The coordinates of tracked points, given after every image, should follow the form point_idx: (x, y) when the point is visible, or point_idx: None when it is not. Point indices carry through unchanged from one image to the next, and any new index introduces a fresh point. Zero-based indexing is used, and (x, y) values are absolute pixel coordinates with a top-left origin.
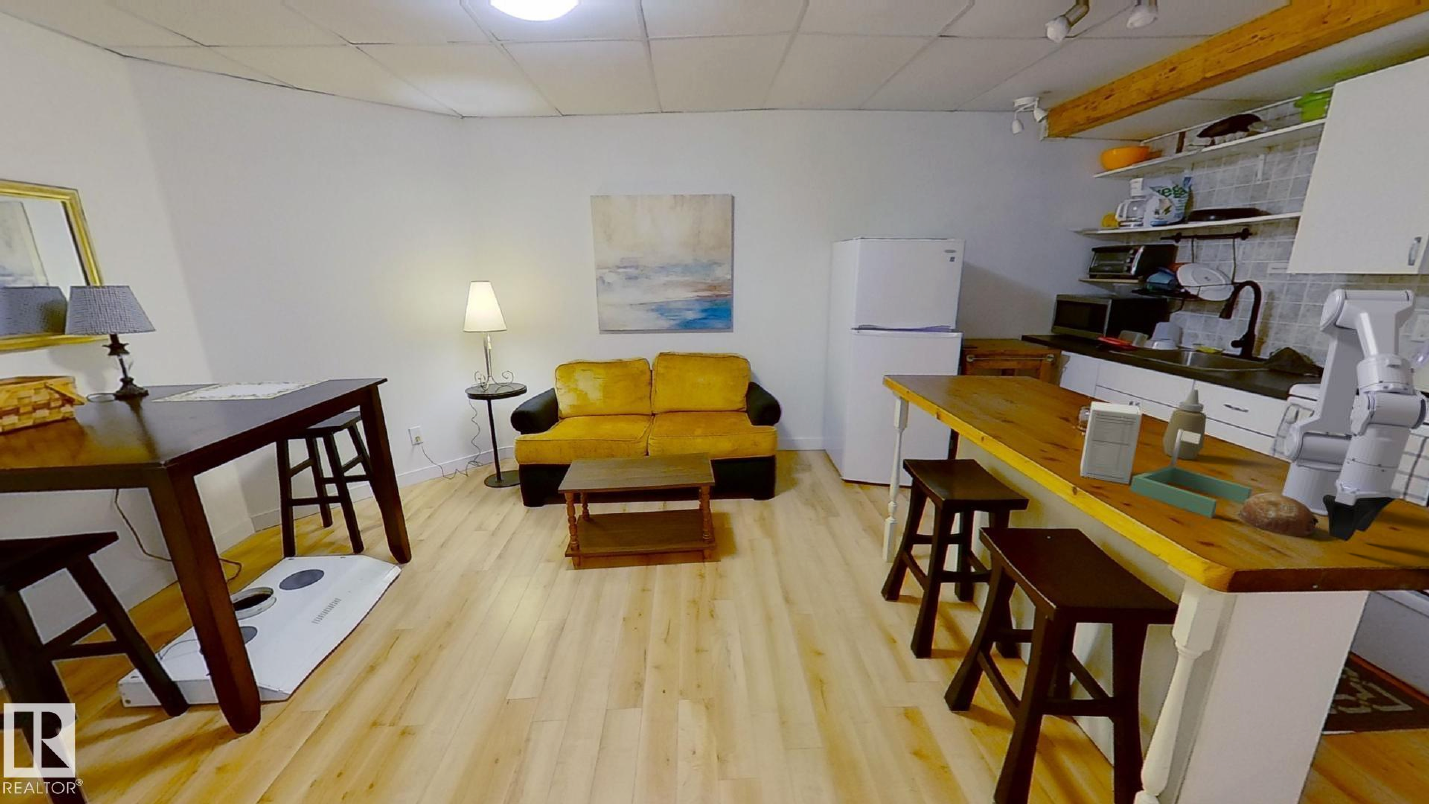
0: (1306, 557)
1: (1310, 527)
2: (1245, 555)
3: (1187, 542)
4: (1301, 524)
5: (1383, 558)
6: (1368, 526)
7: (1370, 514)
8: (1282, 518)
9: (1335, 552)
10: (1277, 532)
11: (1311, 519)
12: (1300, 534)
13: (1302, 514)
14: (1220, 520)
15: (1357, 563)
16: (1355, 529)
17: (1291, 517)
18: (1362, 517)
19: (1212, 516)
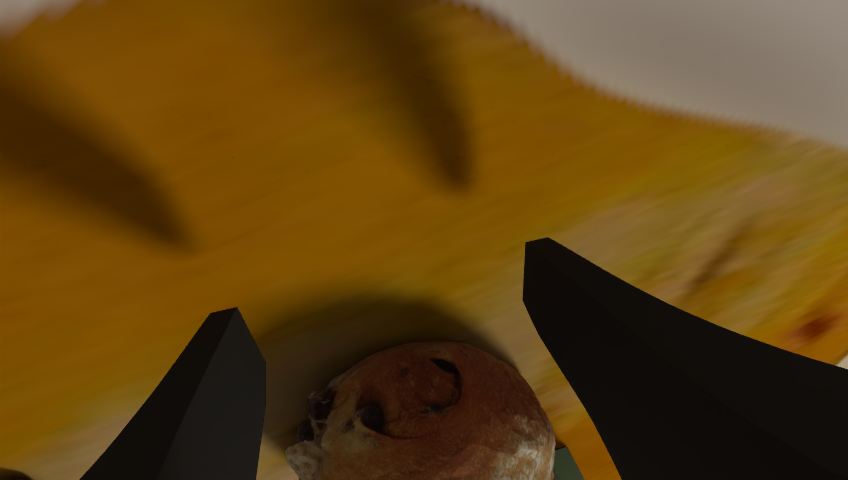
0: (703, 205)
1: (440, 376)
2: (844, 258)
3: (842, 338)
4: (488, 393)
5: (345, 95)
6: (219, 339)
7: (195, 451)
8: (543, 430)
9: (519, 210)
10: (508, 366)
11: (427, 424)
12: (460, 346)
13: (477, 455)
14: (561, 434)
15: (587, 103)
16: (610, 285)
17: (527, 435)
18: (820, 364)
19: (556, 452)
